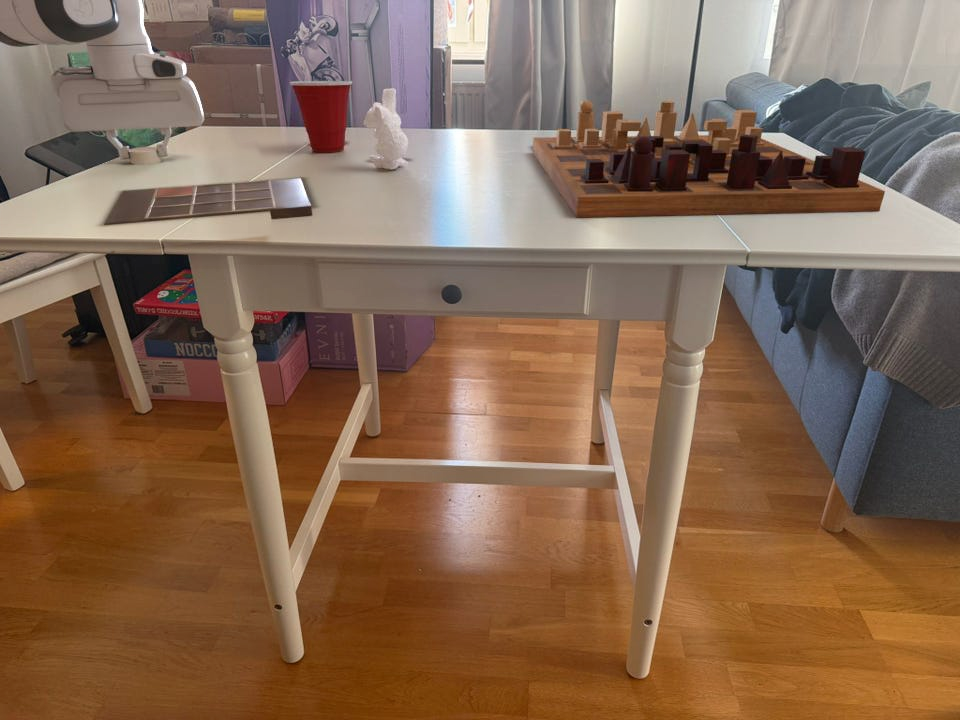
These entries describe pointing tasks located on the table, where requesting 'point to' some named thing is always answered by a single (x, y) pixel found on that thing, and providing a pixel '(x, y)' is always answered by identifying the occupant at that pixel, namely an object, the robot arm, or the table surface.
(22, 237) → the table surface
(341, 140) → the plastic cup
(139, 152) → the short white cylinder
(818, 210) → the gameboard
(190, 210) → the board
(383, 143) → the white upright figurine
